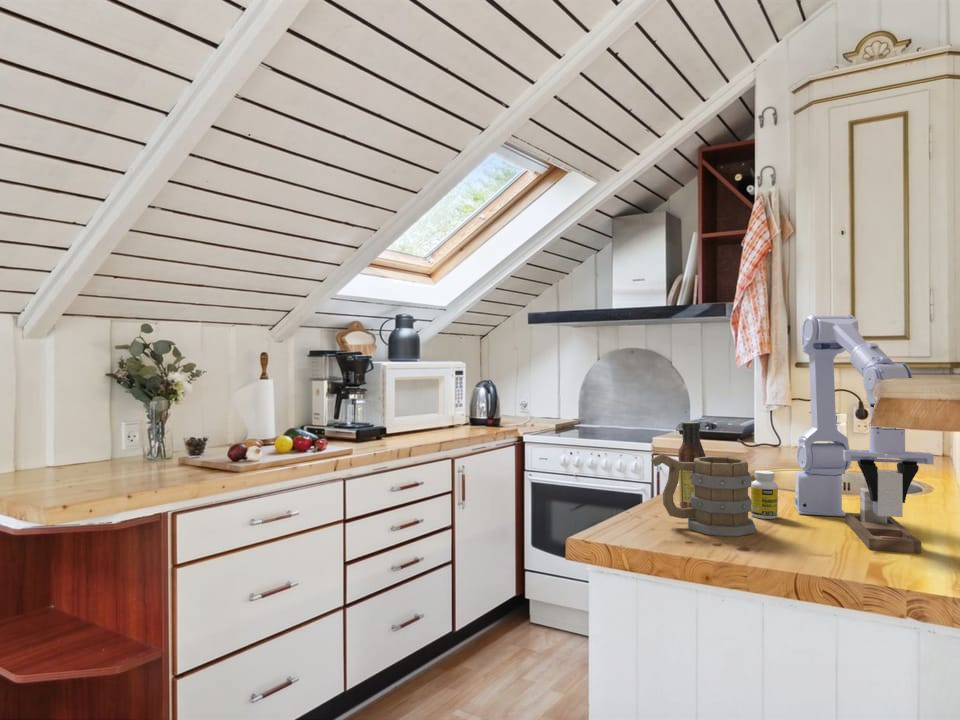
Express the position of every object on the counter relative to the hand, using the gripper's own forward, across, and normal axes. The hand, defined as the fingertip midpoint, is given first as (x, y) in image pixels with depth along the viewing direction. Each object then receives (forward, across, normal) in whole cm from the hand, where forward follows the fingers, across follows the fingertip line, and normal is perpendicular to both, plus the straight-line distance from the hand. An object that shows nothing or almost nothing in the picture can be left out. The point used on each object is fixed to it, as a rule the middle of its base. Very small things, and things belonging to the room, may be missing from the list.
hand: (887, 501), depth 131 cm
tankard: (+8, -33, +3) cm, 34 cm away
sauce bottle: (+8, -35, +21) cm, 42 cm away
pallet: (+8, 0, +6) cm, 10 cm away
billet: (+2, 0, 0) cm, 2 cm away
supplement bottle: (+8, -20, +17) cm, 27 cm away
